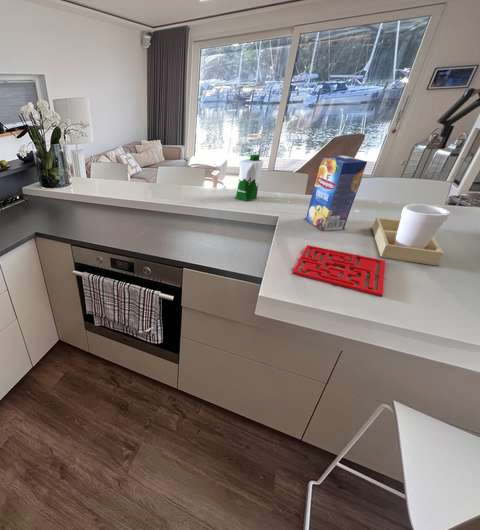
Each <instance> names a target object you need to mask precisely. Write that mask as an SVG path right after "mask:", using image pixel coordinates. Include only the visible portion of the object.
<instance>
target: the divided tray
mask: <svg viewBox="0 0 480 530" xmlns="http://www.w3.org/2000/svg"><path fill="white" fill-rule="evenodd" d="M399 223H400V219H392V218H383V217H376V218H375V220H374V222H373V224H372V227H371V229H372V232H373V237H374V240H375V242H376V247H377V249H378V253H379V256H380V258H384V259H385V258H386V259H391V260H398V261H404V262H411V263H418V264H424V265H431V266H438V264H439V262H440V261H441V258H442V257H443V255H444V251H443V250H442V248H441V247H440V245H439V244H438V242H437V241H436V239H435V238H434V236H433V237H432V239H431V240H430V241H429V243H428V244H427V245H426V247H425V248H424V249H419V248H411V247H404V246H396V245H394V242H395V239H396V235H397V231H398V227H399Z"/></svg>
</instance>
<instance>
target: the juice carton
mask: <svg viewBox="0 0 480 530" xmlns="http://www.w3.org/2000/svg"><path fill="white" fill-rule="evenodd" d="M367 164H368V161H366V160H363V159H359V158H356V157H351V156H348V155H344V154H343V155H330V156H322V157H321V161H320V164H319V168H318V172H317V175H316V179H315V182H314V187H313V190H312V193H311V198H310V201H309V205H308V209H307V212H306V216H305V220H306V221H308V222H309V223H311V224H312V225H313V226H315V227H317V228H318V229H320V230H321V231H336V230H337V231H338V230H340V231H341V230H344V229H345V228H346V224H347V221H348V218H349V216H350V212H351V209H352V206H353V204H354V200H355V197H356V195H357V192H358V189H359V187H360V185H361V180H362V178H363V175H364V172H365V169H366V167H367Z"/></svg>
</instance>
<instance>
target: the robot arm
mask: <svg viewBox="0 0 480 530" xmlns="http://www.w3.org/2000/svg"><path fill="white" fill-rule="evenodd" d="M476 94H477V95H478V98H477V99H475V100H474V101H472V102H471V104H468V105H467V106H466V107H464V108H463V109H462V110H460V111H459V109H460V108H462V106H464V104H466V102H468V101H469V100H470V98H473V97H474V96H476ZM479 107H480V88H474V87H468V88H466V89H465V91H464V92H463V94H462V95H461V97H460V98H459V99H458V100H457V101H456V102H455V103H453V105H451V107H449V109H448V110H447V111H445V112H444V113H443V114H442V116H440V118H438V119H437V121H436V123H437V124H439V125H442V128H441V131H440V133H439V137H440V138H441V140H440V142H439V145H438V146H437V148H438V149H440V150H444V149H445V148H446V146H447V144H448V142H449V139H450V138H451V137H450V136H451V135H452V133H453V130H454V128H455V125H454V124H455V123H456V122H458V121H460V120H461V119H463V118H464V117H465V116H467V115H468V114H470V113H471V112H473V111H474V110H476V109H477V108H479ZM457 111H458V112H457ZM456 112H457V113H456ZM454 114H455V115H454Z"/></svg>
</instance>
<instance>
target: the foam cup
mask: <svg viewBox="0 0 480 530" xmlns="http://www.w3.org/2000/svg"><path fill="white" fill-rule="evenodd" d="M450 214H451V212H450V210H448V209H446V208H444V207H440V206H437V205H431V204H424V203H423V204H421V203H420V204H419V203H413V204H406V205H404V206H403V208H402V211H401V213H400V215H401V217H400V219H399V220H400V223H399V227H398V231H397V235H396V239H395V242H394V245H396V246H404V247H411V248H419V249H424V248H425V247H426V245H427V244H428V243H429V241H430V240H431V239H432V237H433V238H434V236H435V235H436V234H437V232H438V231H439V230H440V229H441V227H442V225H443V224H444V223H445V222H447V220H448V218H449V216H450Z"/></svg>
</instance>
